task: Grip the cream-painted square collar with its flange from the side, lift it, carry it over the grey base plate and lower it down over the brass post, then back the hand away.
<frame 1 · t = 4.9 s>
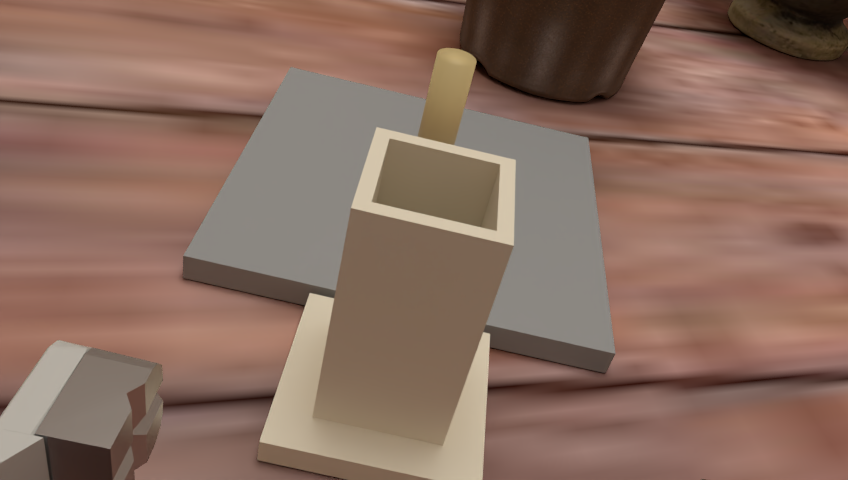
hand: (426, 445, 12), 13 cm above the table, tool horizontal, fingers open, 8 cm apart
amphora: (783, 37, 73), on the table
collar: (382, 399, 29), on the table
plant pot: (541, 65, 57), on the table
post plate: (419, 204, 40), on the table
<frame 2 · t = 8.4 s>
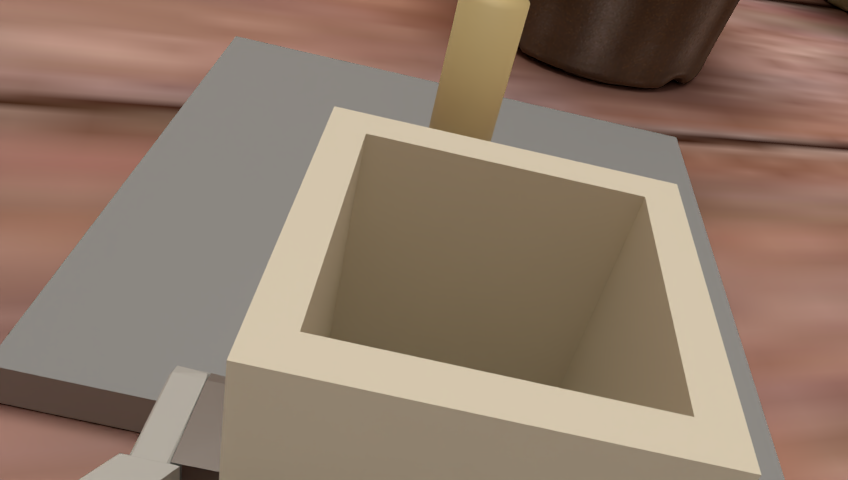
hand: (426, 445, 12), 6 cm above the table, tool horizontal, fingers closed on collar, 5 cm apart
plant pot: (590, 40, 42), on the table
post plate: (430, 245, 25), on the table
when the fingers open (8 cm above the table, at t = 13.8 s): collar drops 1 cm, resting on post plate.
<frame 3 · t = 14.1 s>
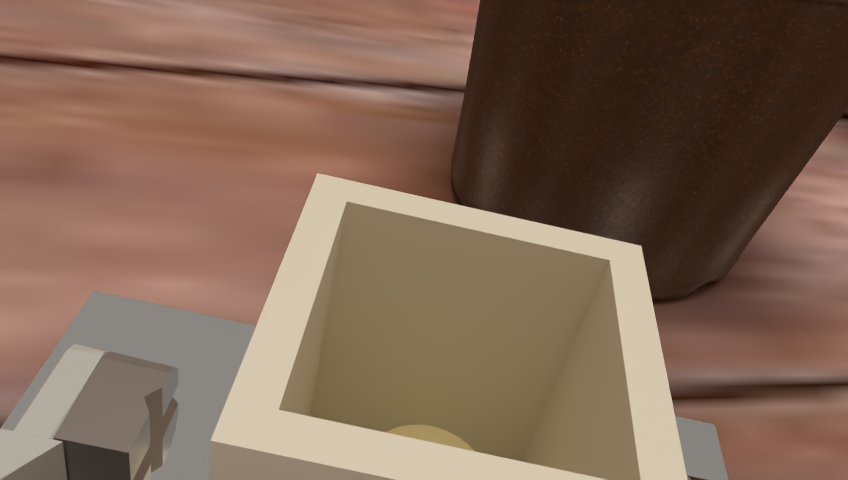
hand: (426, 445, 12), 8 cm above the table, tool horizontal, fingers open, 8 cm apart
plant pot: (592, 209, 33), on the table
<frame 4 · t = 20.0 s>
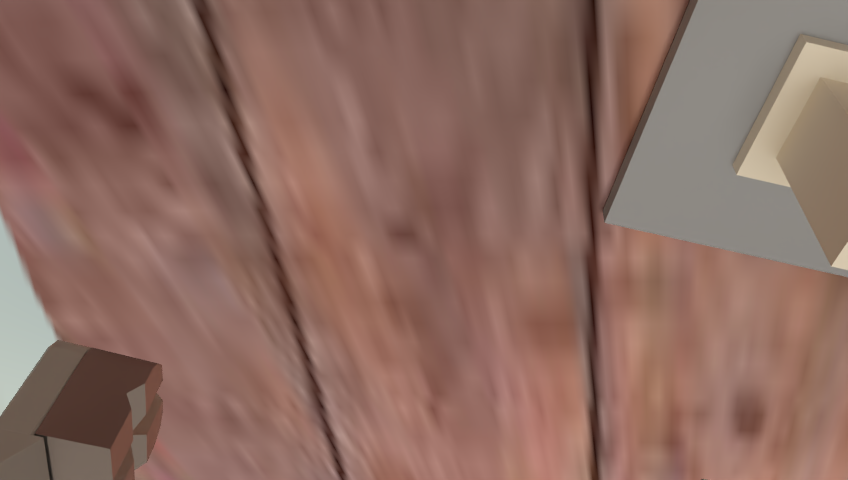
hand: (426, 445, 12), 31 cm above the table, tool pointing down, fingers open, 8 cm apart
collar: (835, 119, 40), point 1 cm above the table, touching post plate
post plate: (827, 110, 41), on the table
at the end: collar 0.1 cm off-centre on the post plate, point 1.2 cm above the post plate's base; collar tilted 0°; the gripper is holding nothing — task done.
